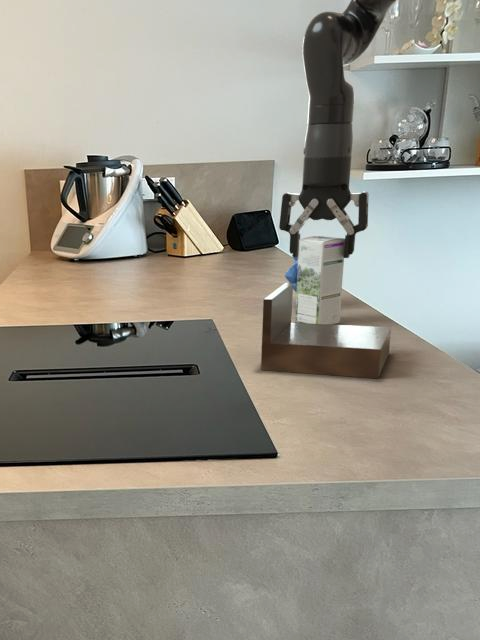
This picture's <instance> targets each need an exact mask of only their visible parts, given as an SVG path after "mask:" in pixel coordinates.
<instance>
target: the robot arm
mask: <svg viewBox="0 0 480 640" xmlns="http://www.w3.org/2000/svg"><path fill="white" fill-rule="evenodd" d="M396 1H397V0H350V1H349V3H348V5H347V7H346V8H345V9H344V11H343V12H342V13H341V12H335V11H323V12H320V13H318V14H317V15H315V16H314V17H313V18H312V19H311V20H310V21H309V24H308V25H307V27H306V30H305V33H304V36H303V41H302V60H303V61H302V62H303V68H304V74H305V82H306V86H307V91H308V96H309V97H308V110H307V125H306V133H305V137H304V147H303V166H302V167H303V168H302V186H301V191H300V193H293V192H285V193H283V194H282V197H281V206H280V217H279V226H278V227H279V228H278V229H279V230H280V231H284V232H287V233H288V234H289V253H290V254H292V255H293V257H298V249H299V239H301V233H300V230H301V229H302V228H303V227H304V226H305V224H306V223H307V222H308V221H309V219H310V220H312V221H320V220H325V221H333V220H335V219H336V220H337V222H338V223H339V224H340V225H341V226H342V228H343V230H344V231H345V233H346V234H345V236H344V238H345V246H344V259H349V258H350V256H351V255H353V253H354V252H355V244H356V234H358V233H360V232H364V231H365V230H366V229H368V226H369V196H370V195H369V192H368V191H362V192H356V193H351V190H350V179H351V169H352V168H351V167H352V157H353V156H352V154H353V141H354V135H353V134H354V133H353V121H354V119H353V118H354V106H355V89H354V86H353V85H352V84H351V83H350V82H348V81H347V80H346V78H345V73H344V71H345V70H344V66H347V65H351V64H352V63H354V62H355V61H357V60H358V59H359V58H360V57H361V56H362V55H363V54H364V53H365V51H367V49H368V48H369V47H370V45H371V43H372V42H373V40H374V38H375V36H376V35H377V33H378V31H379V29H380V27H381V26H382V24H383V22H384V20H385V17H386V15H387V13H388V11H389V9H390V8H391V7H392V6H393V5H394V3H395V2H396ZM297 201H298V202H299V204H300V205H301V207H302V209H303V211H302V212H301V214H300V215H299V216H298V217H297V219H296V221H295V222H294V223H290V222H291V213H292V207H295V206H296V203H297ZM351 201H352V202H353V203H354V204H353V205H354V206H355V207H356V208H358V218H357V219H358V223H357V224H354V223H353V221H352V220H351V218H350V216H349V214H348V212H347V210H345V209H346V207H348V205H349V204H350V202H351ZM293 257H292V258H293Z"/></svg>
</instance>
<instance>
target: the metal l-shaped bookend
mask: <svg viewBox="0 0 480 640" xmlns="http://www.w3.org/2000/svg"><path fill="white" fill-rule="evenodd" d="M293 291H294V289H293V283H290V282H284V283H283V284H282V285H281V286H279V287H278V288H276V289H275V290H274V291H273V292H271V293H270V294H268V295H267V296H266V297H264V298H263V299H262V300H263V302H262V303H263V304H262V305H263V306H262V329H261V331H262V332H261V355H260V356H261V358H260V360H261V362H260V371H268V372H269V371H270V372H280V373H281V372H282V373H295V374H296V373H298V374H308V375H322V376H337V377H349V378H351V377H352V378H363V379H364V378H365V379H379V377H380V375H381V372H382V371H383V368H384V366H385V364H386V361H387V359H388V356H389V354H390V345H391V335H392V327H390V326H389V327H388V326H372V325H371V326H369V325H350V324H348V325H347V324H333V325H331V324H311V323H297V322H292V315H293V313H292V312H293Z"/></svg>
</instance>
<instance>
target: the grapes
mask: <svg viewBox="0 0 480 640" xmlns="http://www.w3.org/2000/svg"><path fill="white" fill-rule="evenodd" d="M291 256H292V258H293V259H294V261H295V262H294V263H292V265H291V267H289V269H287V271H286V272H285V274H284V277H285V279H286V280H287V281H288V283H293V291H294V292H295V293H297V272H298V257H293V254H292V255H291Z"/></svg>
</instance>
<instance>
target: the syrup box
mask: <svg viewBox="0 0 480 640" xmlns="http://www.w3.org/2000/svg"><path fill="white" fill-rule="evenodd" d="M344 246H345V237H344V238H343V237H334V236H333V237H332V236H320V235H314V236H308V237H304V238H300V239H299V249H298V272H297V293H296V292H295V293H296V294H295V296H296V297H295V317H294V323H311V324H331V325H338V324H340V322H341V309H342V293H343V292H342V291H343V275H344V264H345V258H344Z"/></svg>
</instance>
